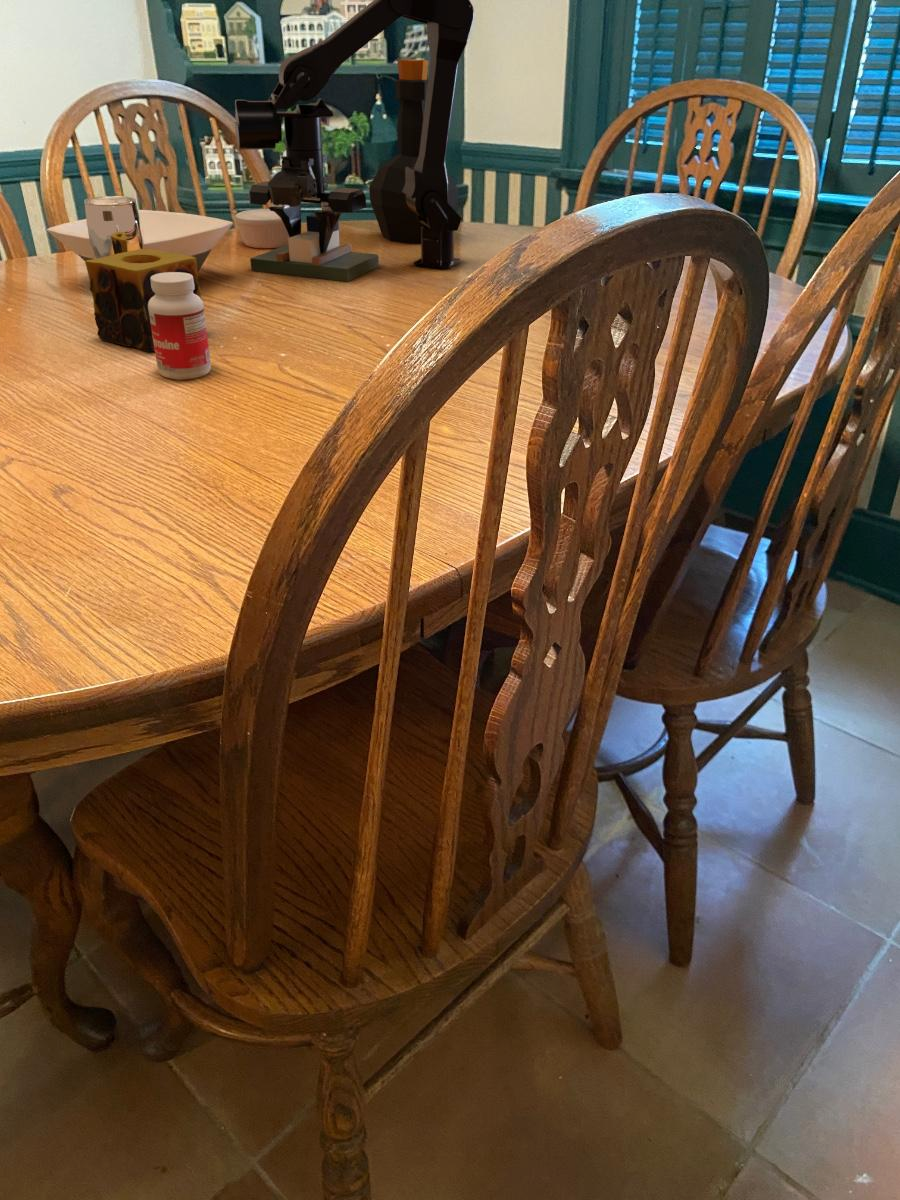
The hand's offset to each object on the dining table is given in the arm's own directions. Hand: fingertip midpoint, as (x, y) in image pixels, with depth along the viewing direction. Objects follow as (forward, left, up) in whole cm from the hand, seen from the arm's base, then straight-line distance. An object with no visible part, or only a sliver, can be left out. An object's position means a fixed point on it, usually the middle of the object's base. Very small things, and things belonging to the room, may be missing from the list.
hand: (310, 252), depth 151 cm
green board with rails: (-2, 0, -3) cm, 3 cm away
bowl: (+17, -19, -3) cm, 26 cm away
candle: (+42, 0, -3) cm, 43 cm away
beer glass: (+34, -10, -3) cm, 36 cm away
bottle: (-34, +5, -3) cm, 34 cm away
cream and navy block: (-2, 0, -1) cm, 2 cm away
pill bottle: (+52, +12, -3) cm, 54 cm away
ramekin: (-16, -17, -3) cm, 24 cm away
